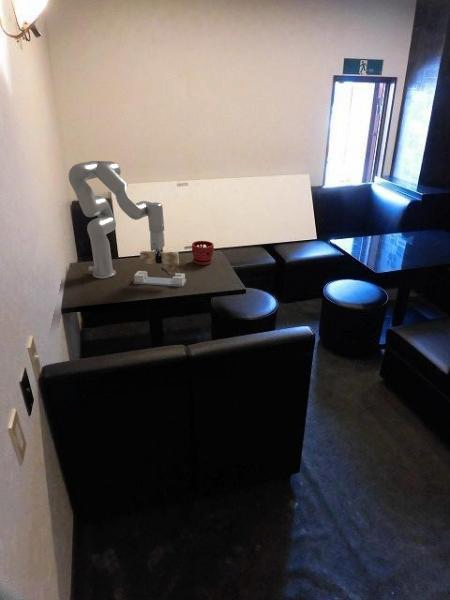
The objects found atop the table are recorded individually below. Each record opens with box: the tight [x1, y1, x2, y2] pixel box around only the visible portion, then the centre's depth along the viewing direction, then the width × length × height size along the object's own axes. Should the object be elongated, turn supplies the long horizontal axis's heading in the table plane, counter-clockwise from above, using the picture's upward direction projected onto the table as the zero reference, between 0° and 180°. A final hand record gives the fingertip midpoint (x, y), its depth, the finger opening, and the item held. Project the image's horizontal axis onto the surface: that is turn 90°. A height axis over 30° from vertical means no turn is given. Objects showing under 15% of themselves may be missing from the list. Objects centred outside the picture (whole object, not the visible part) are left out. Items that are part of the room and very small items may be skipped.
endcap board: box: [133, 270, 187, 287], centre depth 218 cm, size 27×8×4 cm, turn 82°
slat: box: [139, 250, 180, 265], centre depth 213 cm, size 20×2×6 cm, turn 82°
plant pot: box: [191, 240, 215, 266], centre depth 245 cm, size 13×13×12 cm
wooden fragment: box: [161, 263, 182, 276], centre depth 240 cm, size 26×11×1 cm, turn 4°
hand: (159, 261), depth 214 cm, fingers closed on slat, 2 cm apart
